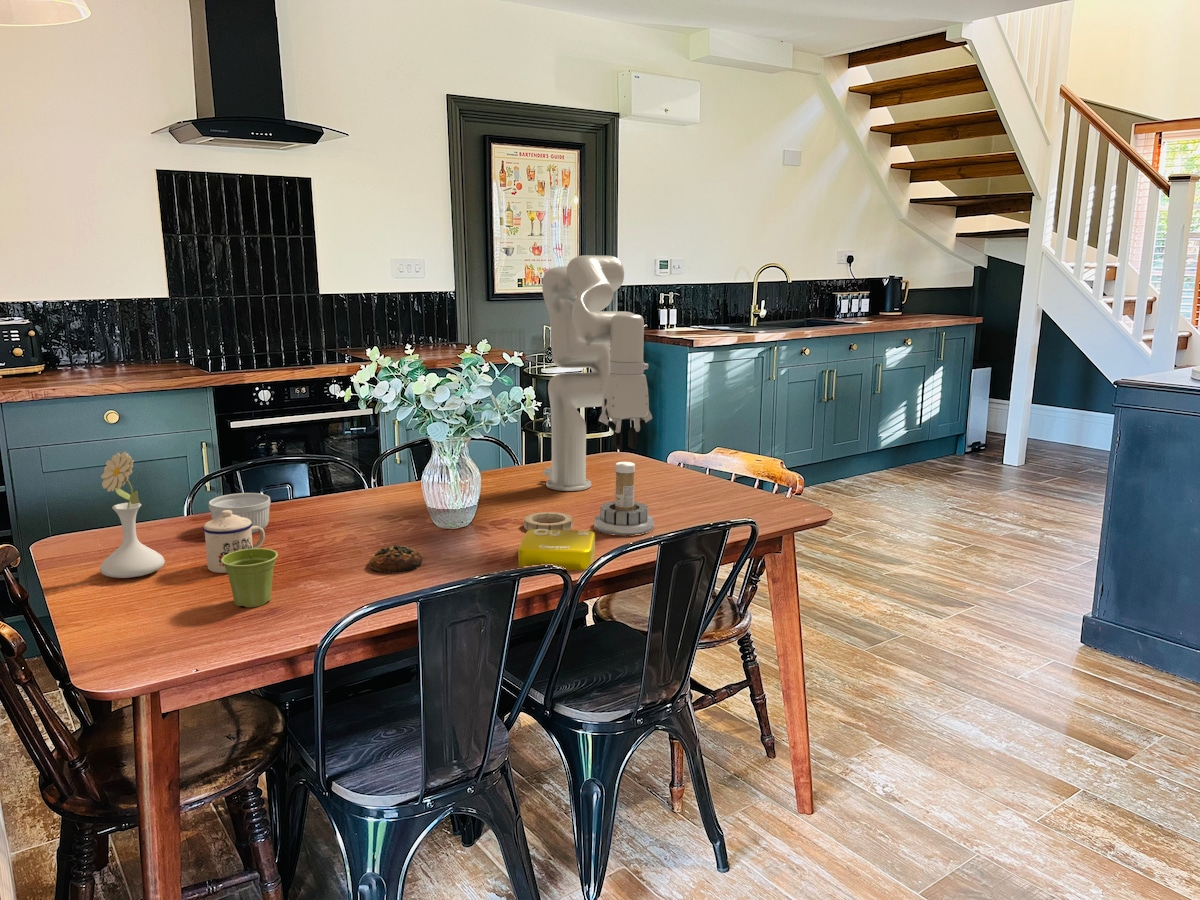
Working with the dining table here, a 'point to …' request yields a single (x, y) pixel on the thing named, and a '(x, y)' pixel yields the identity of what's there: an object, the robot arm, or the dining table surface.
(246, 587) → the plant pot
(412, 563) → the bread roll
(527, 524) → the beige flat ring
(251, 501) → the ramekin
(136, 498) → the flower in vase
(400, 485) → the dining table surface
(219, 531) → the teacup with lid
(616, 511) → the hub
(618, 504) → the sprinkles bottle
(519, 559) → the element tile
